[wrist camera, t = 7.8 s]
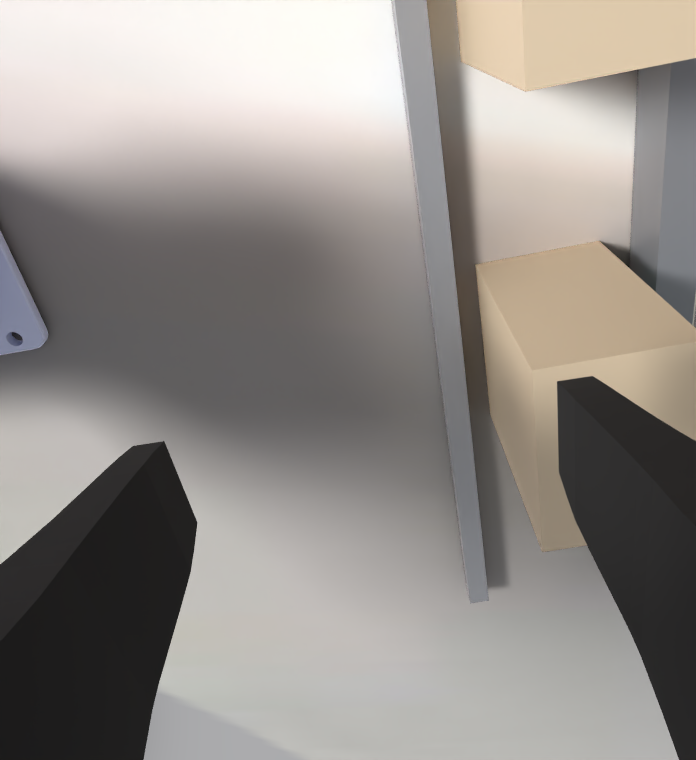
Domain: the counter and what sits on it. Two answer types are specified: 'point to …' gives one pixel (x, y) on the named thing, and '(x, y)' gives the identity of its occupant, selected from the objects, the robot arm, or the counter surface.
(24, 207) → the counter surface
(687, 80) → the pair of grey rails
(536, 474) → the box
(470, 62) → the faced tea box
